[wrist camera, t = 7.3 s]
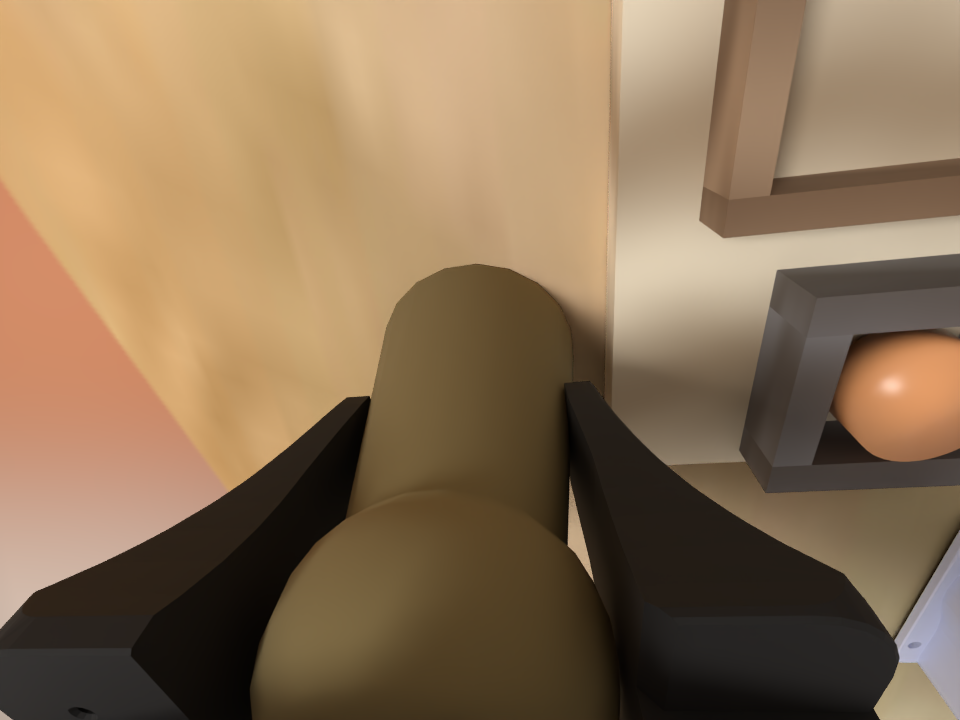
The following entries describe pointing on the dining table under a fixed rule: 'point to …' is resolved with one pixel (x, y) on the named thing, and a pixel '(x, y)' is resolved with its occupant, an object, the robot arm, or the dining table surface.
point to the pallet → (776, 223)
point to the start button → (902, 394)
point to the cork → (451, 533)
